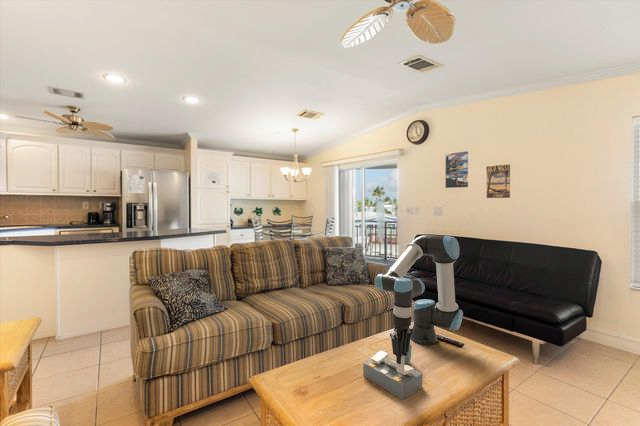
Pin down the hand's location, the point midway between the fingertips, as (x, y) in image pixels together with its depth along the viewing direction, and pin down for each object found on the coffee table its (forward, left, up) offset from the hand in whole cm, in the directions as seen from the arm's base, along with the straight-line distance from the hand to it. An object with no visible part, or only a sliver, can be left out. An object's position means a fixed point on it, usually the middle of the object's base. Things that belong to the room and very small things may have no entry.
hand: (400, 370), depth 130 cm
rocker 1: (-4, -14, -2) cm, 15 cm away
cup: (-22, -14, -10) cm, 27 cm away
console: (-4, -7, -9) cm, 12 cm away
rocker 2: (-4, -7, -2) cm, 8 cm away
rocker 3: (-4, 0, -2) cm, 4 cm away
